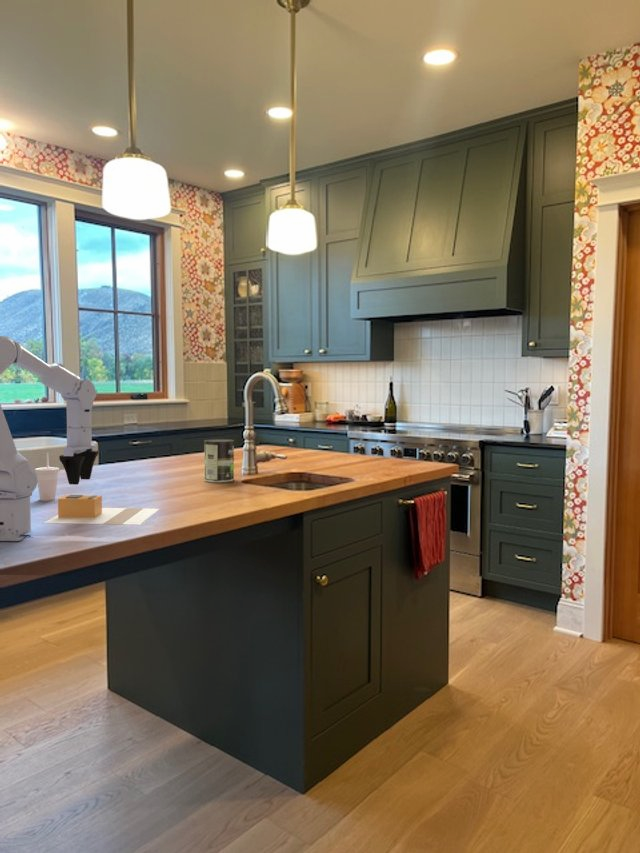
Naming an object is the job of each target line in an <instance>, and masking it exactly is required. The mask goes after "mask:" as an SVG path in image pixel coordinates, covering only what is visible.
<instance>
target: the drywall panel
mask: <svg viewBox="0 0 640 853" xmlns="http://www.w3.org/2000/svg"><path fill="white" fill-rule="evenodd" d="M159 510H160V508H145V507H144V508H141V507H140V508H137V507H135V508H134V507H102V513H101V514H100V515H98V516H96V517H95V518H93V517H58V514H57V515H54V516H52V517H51V518H49V519H48V520H46V521H42V524H64V525H65V524H71V525H74V524H75V525H76V524H77V525H78V524H79V525H122V526H125V525H127V526H128V525H129V526H135V525H136V526H141V525H142V524H143V523H144V522H146V521H147V520H148V519H149V518H150V517H152V516H153V515H154V514H155V513H156V512H158V511H159Z"/></svg>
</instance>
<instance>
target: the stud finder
mask: <svg viewBox="0 0 640 853" xmlns="http://www.w3.org/2000/svg"><path fill="white" fill-rule="evenodd" d="M102 508H103V496H102V495H95V494H94V495H93V494H92V495H89V494H88V495H87V494H86V495H83V494H66V495H62V496H61V497H59V498H57V515H58V517H93V518H95V517H96V516H98V515H100V514H101V513H102Z"/></svg>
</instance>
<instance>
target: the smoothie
mask: <svg viewBox="0 0 640 853" xmlns="http://www.w3.org/2000/svg"><path fill="white" fill-rule="evenodd" d="M34 471H35V472H36V474H37V478H38V482H37V488H38V495H39V500H40V501H43V502H45V501H47V502H48V501H53V500H56V496H57V495H56V494H57V487H58V478H59V472H60V468H59V466H58V467H56V466H50V454H49V452H46V466H42V467H41V466H40V467H38V468H34Z"/></svg>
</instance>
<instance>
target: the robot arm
mask: <svg viewBox="0 0 640 853" xmlns="http://www.w3.org/2000/svg"><path fill="white" fill-rule="evenodd" d="M13 364H14V365H15V366H17V367H19V368H22V369H23V370H25V371H28V372H30V373H31V374H34V375H36V376H37V377H40V382H41V383H42V385H43V386H46V387H48V388H49V389H51V390H53V391H54V392H56V393H58V394H60V396H61V397H62V399H63V400H64V401H66V444H65V447H63V454H61V455H59V456H58V457H59V458H58V459H59V461H60V462H61V464H62V466H63V468H64V471H65V475H66V478H67V481H68V485H71V486H72V485H75V486H77V485H79V484H80V480H91V476H92V472H93V467H94V464H95V461H96V459H97V457H98V455H99V450H94V449H97V444H95V443H94V441H93V439H92V434H93V433H92V431H93V430H92V410H93V407H94V400H95V399H96V397H97V393H98V392H97V391H98V390H97V389H96V387H95V384H94V383H93V382H92V381H91V380H89V379H87V378H80V376H79V374H78V373H76V372H71V371H70V370H68V369H66V368H65V365H64V364H63V363H60V362H59V363H57V362H54V363H49V364H48V363H47V362H45V361H44V360H42V359H41V358H39V357H38V356H36V354H33V353H32V352H30V351H29V350H28V349H26V348H25V347H23V346H22V345H21V344H20V342H18V341H15V340H13V339H11V338H10V337H8V336H5V335H0V376H1V375H2V374H3V373H4V372H5V371H6V370H7V369H8V368H9V367H10V366H11V365H13ZM37 482H38V478H37V474H36V472H35V469H33V468H32V466H31V465H30V464H29V461H28V459H27V458H26V457H25V456H23V455H22V454H21V453H20V452H19V451H18V450H17V447H16V444H15V441H14V439H13V436H12V433H11V430H10V428H9V424H8V421H7V420H6V416H5V413H4V411H3V408H2V405H1V404H0V542H20V541H22V540H24V539H26V538H28V537H29V536H30V534H25V533H28V532H29V533H30V532H31V531H32V527H31V526H32V522H31V521H32V518H31V514H32V513H31V496H32V495H33V492H35V490H36V488H37V487H38V483H37Z"/></svg>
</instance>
